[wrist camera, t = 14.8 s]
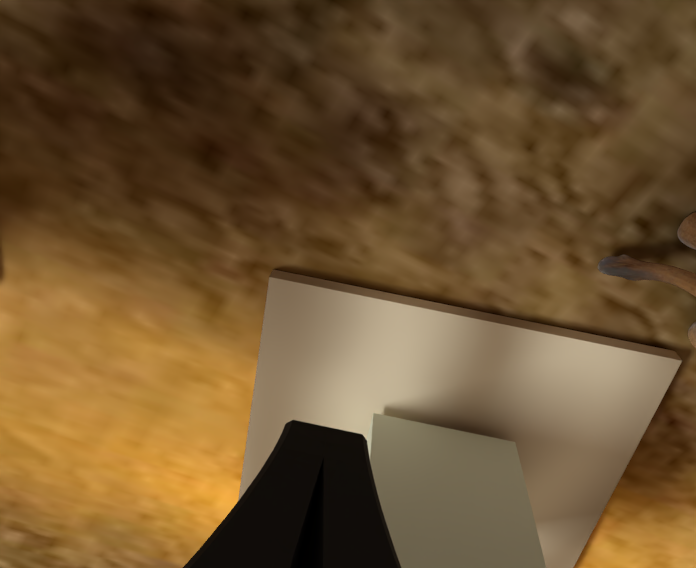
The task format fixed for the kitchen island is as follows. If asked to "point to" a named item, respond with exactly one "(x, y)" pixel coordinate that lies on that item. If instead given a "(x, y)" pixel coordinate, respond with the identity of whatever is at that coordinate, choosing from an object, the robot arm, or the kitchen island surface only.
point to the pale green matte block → (452, 497)
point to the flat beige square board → (460, 389)
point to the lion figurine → (658, 267)
